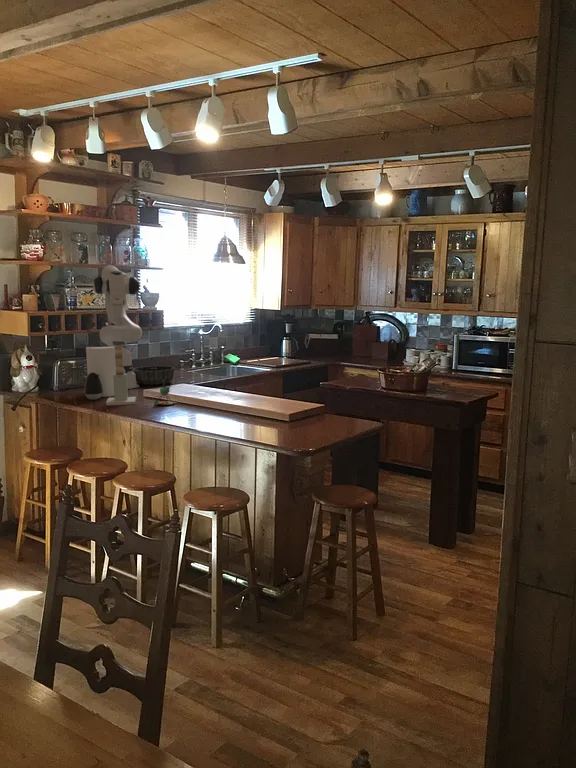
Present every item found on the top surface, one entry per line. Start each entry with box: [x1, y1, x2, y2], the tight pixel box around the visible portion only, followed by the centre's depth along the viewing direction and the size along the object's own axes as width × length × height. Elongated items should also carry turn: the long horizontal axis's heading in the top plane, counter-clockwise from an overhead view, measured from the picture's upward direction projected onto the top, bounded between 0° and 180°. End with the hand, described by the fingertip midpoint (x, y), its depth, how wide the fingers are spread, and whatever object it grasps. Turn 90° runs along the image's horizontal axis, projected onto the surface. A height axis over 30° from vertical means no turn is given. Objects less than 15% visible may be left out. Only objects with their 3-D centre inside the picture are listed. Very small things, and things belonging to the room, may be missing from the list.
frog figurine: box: [152, 380, 178, 409], centre depth 366 cm, size 10×18×15 cm, turn 138°
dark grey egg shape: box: [83, 372, 103, 401], centre depth 386 cm, size 10×10×15 cm
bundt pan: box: [132, 365, 175, 386], centre depth 438 cm, size 26×26×10 cm
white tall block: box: [85, 346, 116, 398], centre depth 400 cm, size 17×17×28 cm
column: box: [113, 341, 125, 375], centre depth 372 cm, size 6×6×26 cm
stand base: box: [105, 373, 137, 406], centre depth 375 cm, size 15×15×16 cm
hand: (119, 325), depth 383 cm, fingers open, 8 cm apart
